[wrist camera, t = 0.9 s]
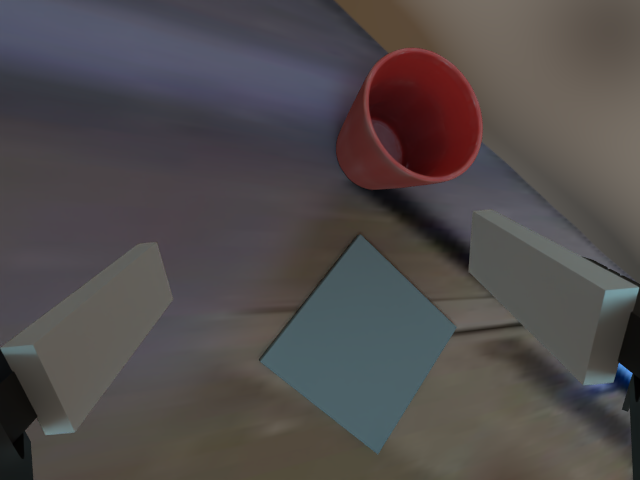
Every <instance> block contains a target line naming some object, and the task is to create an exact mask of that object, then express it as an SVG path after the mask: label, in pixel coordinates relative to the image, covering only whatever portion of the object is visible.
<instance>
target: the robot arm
mask: <svg viewBox="0 0 640 480" xmlns="http://www.w3.org/2000/svg"><path fill="white" fill-rule="evenodd" d="M469 272H470V273H471V274H472V275H473V276H474V277H475V278H476V279H477V280H478V281H479V282H480V283H481V284H482V285H483V286H484V287H485V288H486V289H487V290H488V291H489V292H490V293H491V294H492V295H493V296H494V297H495V298H496V299H497V300H498V301H499V302H500V303H501V304H502V305H503V306H504V307H505V308H506V309H507V310H508V311H509V312H510V313H511V314H512V315H513V316H514V317H515V318H516V319H517V320H518V321H519V322H520V323H521V324H522V325H523V326H524V327H525V328H526V329H527V330H528V331H529V332H530V333H531V334H532V335H533V336H534V337H535V338H536V339H537V340H538V341H539V342H540V343H541V344H542V345H543V346H544V347H545V348H546V349H547V350H548V351H549V352H550V353H551V354H552V355H553V356H554V357H555V358H556V359H557V360H558V361H559V362H560V363H561V364H562V365H563V366H564V367H565V368H566V369H567V370H568V371H569V372H570V373H571V374H572V375H573V376H574V377H575V378H576V379H577V380H578V381H579V382H580V383H581V384H582V385H592V384H603V383H613V382H614V378H615V375H616V371H617V367H618V364H619V363H620V364H622V365H623V366H624V367H625V368H627V369H628V370H629V371H630V372H632V373H633V374H632V377H631V381H630V384H629V387H628V391H627V394H626V398H625V401H624V404H623V408H622V410H625V411H628V410H629V408H630V420H631V442H632V463H633V480H640V284H639V283H637V282H635V281H633V280H631V279H629V278H627V277H625V276H620V274H619V273H617V272H615V271H613V270H611V269H608V267H606V266H604V265H602V264H600V263H598V262H596V261H594V260H591V259H588V258H585V257H582V256H579V255H577V254H575V253H573V252H572V251H570V250H568V249H566V248H564V247H562V246H560V245H558V244H556V243H554V242H552V241H551V240H549V239H547V238H545V237H543V236H541V235H539V234H537V233H535V232H533V231H532V230H530V229H528V228H526V227H524V226H522V225H520V224H518V223H516V222H514V221H513V220H511V219H509V218H507V217H505V216H503V215H501V214H499V213H497V212H495V211H494V210H492V209H490V210H480V211H473V217H472V231H471V245H470V259H469ZM172 301H173V297H172V293H171V290H170V286H169V283H168V279H167V276H166V272H165V269H164V265H163V262H162V258H161V255H160V251H159V248H158V244H157V242H150V243H140V244H137V245H136V246H135V247H133V248H132V249H131V250H129V251H128V252H127V253H125V254H124V255H123V256H121V257H120V258H119V259H117V260H116V261H115V262H114V263H112V264H111V265H110V266H108V267H107V268H106V269H104V270H103V271H102V272H100V273H99V274H98V275H96V276H95V277H94V278H92V279H91V280H90V281H88V282H87V283H86V284H84V285H83V286H82V287H80V288H79V289H78V290H76V291H75V292H74V293H72V294H71V295H70V296H68V297H67V298H66V299H64V300H63V301H62V302H60V303H59V304H58V305H56V306H55V307H54V308H52V309H51V310H50V311H48V312H47V313H46V314H44V315H43V316H42V317H40V318H39V319H38V320H36V321H35V322H34V323H32V324H31V325H30V326H28V327H27V328H26V329H24V330H23V331H22V332H20V333H19V334H18V335H16V336H15V337H14V338H12V339H11V340H10V341H8V342H7V343H6V344H5V345H3V346H2V347H1V348H0V480H33V469H32V454H31V441H30V439H29V438H28V436H27V434H26V432H25V430H26V429H27V428H28V426H29V425H30V424H31V423H32V422H33V421H34V420H35V419H36V418H37V420H38V421H39V423H40V425H41V427H42V429H43V431H44V433H45V435H52V434H63V433H73V432H76V430H77V429H78V428H79V426H80V425H81V423H82V422H83V421H84V419H85V418H86V417H87V415H88V414H89V413H90V411H91V410H92V409H93V407H94V406H95V405H96V403H97V402H98V401H99V399H100V398H101V396H102V395H103V394H104V392H105V391H106V390H107V388H108V387H109V386H110V384H111V383H112V382H113V380H114V379H115V378H116V376H117V375H118V374H119V372H120V371H121V369H122V368H123V367H124V365H125V364H126V363H127V361H128V360H129V359H130V357H131V356H132V355H133V353H134V352H135V351H136V349H137V348H138V347H139V345H140V344H141V342H142V341H143V340H144V338H145V337H146V336H147V334H148V333H149V332H150V330H151V329H152V328H153V326H154V325H155V324H156V322H157V321H158V320H159V318H160V317H161V315H162V314H163V313H164V311H165V310H166V309H167V307H168V306H169V305H170V303H171V302H172Z"/></svg>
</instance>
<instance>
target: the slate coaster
mask: <svg viewBox="0 0 640 480" xmlns="http://www.w3.org/2000/svg"><path fill="white" fill-rule="evenodd" d="M456 328H457V327H456V326H455V325H454V324H453V323H452V322H451V321H449V320H448V319H447V318H446V317H445V316H444V315H443V314H442V313H441V312H440V311H439V310H438V309H437V308H436V307H435V306H434V305H433V304H432V303H431V302H430V301H429V300H428V299H427V298H426V297H425V296H424V295H423V294H422V293H421V292H420V291H418V290H417V289H416V288H415V287H414V286H413V285H412V284H411V283H410V282H409V281H408V280H407V279H406V278H405V277H404V276H403V275H402V274H401V273H400V272H399V271H398V270H397V269H396V268H395V267H394V266H393V265H392V264H391V263H390V262H389V261H387V260H386V259H385V258H384V257H383V256H382V255H381V254H380V253H379V252H378V251H377V250H376V249H375V248H374V247H373V246H372V245H371V244H370V243H369V242H368V241H367V240H366V239H365V238H364V237H363V236H362V235H361V234H360V235H357V236H356V238H355V239H354V240H353V242H352V243H351V244H350V245H349V247H348V248H347V249H346V250H345V252H344V253H343V254H342V255H341V257H340V258H339V259H338V261H337V262H336V263H335V264H334V266H333V267H332V268H331V269H330V271H329V272H328V273H327V274H326V276H325V277H324V278H323V279H322V281H321V282H320V283H319V285H318V286H317V287H316V288H315V290H314V291H313V292H312V293H311V295H310V296H309V297H308V298H307V300H306V301H305V302H304V304H303V305H302V306H301V307H300V309H299V310H298V311H297V312H296V314H295V315H294V316H293V317H292V319H291V320H290V321H289V323H288V324H287V325H286V326H285V328H284V329H283V330H282V331H281V333H280V334H279V335H278V336H277V338H276V339H275V340H274V341H273V343H272V344H271V345H270V347H269V348H268V349H267V350H266V352H265V353H264V354H263V355H262V357H261V358H260V359H259V361H260V362H261V363H262V364H264V365H265V366H266V367H268V368H269V369H270V370H271V371H273V372H274V373H275V374H276V375H278V376H279V377H280V378H281V379H283V380H284V381H285V382H287V383H288V384H289V385H290V386H292V387H293V388H294V389H295V390H297V391H298V392H299V393H301V394H302V395H303V396H304V397H306V398H307V399H308V400H309V401H311V402H312V403H313V404H314V405H316V406H317V407H318V408H320V409H321V410H322V411H323V412H325V413H326V414H327V415H328V416H330V417H331V418H332V419H334V420H335V421H336V422H337V423H339V424H340V425H341V426H342V427H344V428H345V429H346V430H348V431H349V432H350V433H351V434H353V435H354V436H355V437H356V438H358V439H359V440H360V441H361V442H363V443H364V444H365V445H367V446H368V447H369V448H370V449H372V450H373V451H374V452H375V453H377V454H378V453H379V452H380V450H381V449H382V447H383V445H384V444H385V442H386V441H387V439H388V437H389V436H390V434H391V432H392V431H393V429H394V428H395V426H396V424H397V423H398V421H399V420H400V418H401V416H402V415H403V413H404V412H405V410H406V408H407V407H408V405H409V403H410V402H411V400H412V399H413V397H414V395H415V394H416V392H417V391H418V389H419V387H420V386H421V384H422V382H423V381H424V379H425V378H426V376H427V374H428V373H429V371H430V370H431V368H432V366H433V365H434V363H435V361H436V360H437V358H438V357H439V355H440V353H441V352H442V350H443V349H444V347H445V345H446V344H447V342H448V341H449V339H450V337H451V336H452V334H453V332H454V331H455V329H456Z"/></svg>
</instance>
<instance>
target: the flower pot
mask: <svg viewBox="0 0 640 480" xmlns="http://www.w3.org/2000/svg"><path fill="white" fill-rule="evenodd" d="M482 133H483V122H482V115H481V110H480V106H479V103H478V100H477V97H476V95H475V93H474V91H473V89H472V87H471V85H470V84H469V82H468V81H467V79H466V78H465V77H464V75H463V74H462V73H461V72H460V71H459V70H458V69H457V68H456V67H455V66H454V65H453V64H452V63H451V62H449V61H448V60H446V59H445V58H444V57H442V56H440V55H439V54H436V53H434V52H432V51H429V50H424V49H420V48H403V49H399V50H396V51H393V52H391V53H389V54H387V55H386V56H384V57H383V58H381V59H380V60H379V61H378V62H377V63H376V64H375V65H374V66H373V67H372V69H371V70H370V72H369V74H368V76H367V77H366V79H365V81H364V83H363V85H362V87H361V89H360V91H359V93H358V95H357V97H356V99H355V101H354V103H353V105H352V107H351V109H350V111H349V113H348V115H347V117H346V119H345V122H344V124H343V126H342V128H341V130H340V133H339V135H338V138H337V143H336V154H337V159H338V162H339V164H340V167H341V168H342V170H343V172H344V173H345V174H346V176H347V177H348V178H349V179H350V180H351V181H352V182H354V183H355V184H357V185H358V186H360V187H363V188H366V189H372V190H378V189H392V188H404V187H411V186H419V185H427V184H434V183H440V182H445V181H449V180H451V179H454V178H456V177H458V176H459V175H461V174H462V173H464V172H465V171H466V170H467V169H468V168H469V167H470V166H471V164H472V163H473V162H474V160H475V158H476V156H477V154H478V152H479V149H480V146H481V142H482Z"/></svg>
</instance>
